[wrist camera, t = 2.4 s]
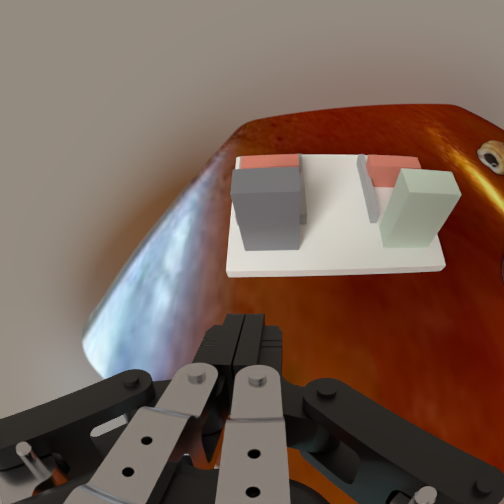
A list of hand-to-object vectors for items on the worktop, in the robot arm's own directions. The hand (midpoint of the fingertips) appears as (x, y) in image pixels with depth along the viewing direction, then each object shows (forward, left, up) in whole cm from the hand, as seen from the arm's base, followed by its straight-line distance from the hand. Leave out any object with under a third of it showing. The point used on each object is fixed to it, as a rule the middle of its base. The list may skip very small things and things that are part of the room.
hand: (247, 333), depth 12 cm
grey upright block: (0, -15, -18) cm, 24 cm away
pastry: (-42, -33, -20) cm, 57 cm away
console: (-8, -20, -19) cm, 29 cm away
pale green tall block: (-16, -15, -18) cm, 28 cm away
